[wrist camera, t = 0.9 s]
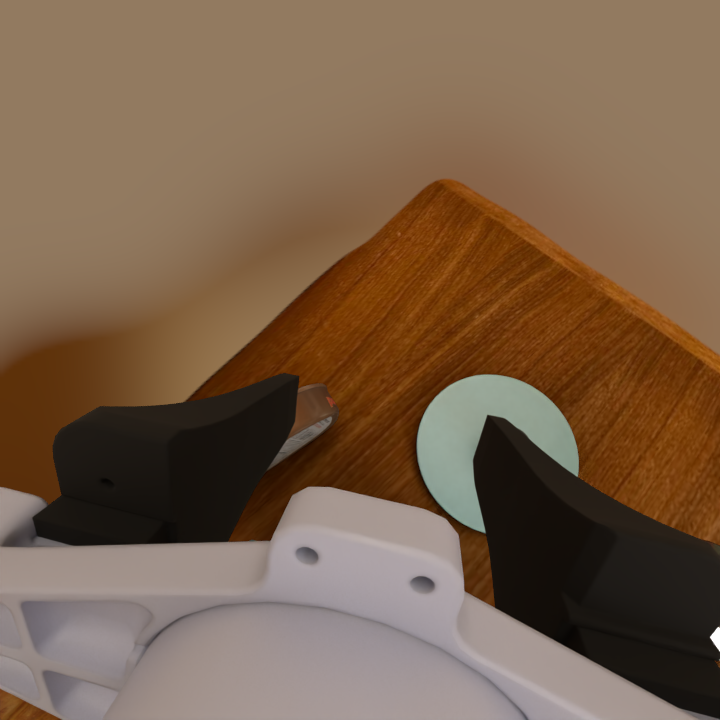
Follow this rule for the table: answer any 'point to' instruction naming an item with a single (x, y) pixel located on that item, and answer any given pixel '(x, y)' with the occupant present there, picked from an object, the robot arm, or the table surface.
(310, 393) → the tin
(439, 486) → the lid
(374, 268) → the table surface
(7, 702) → the croissant
